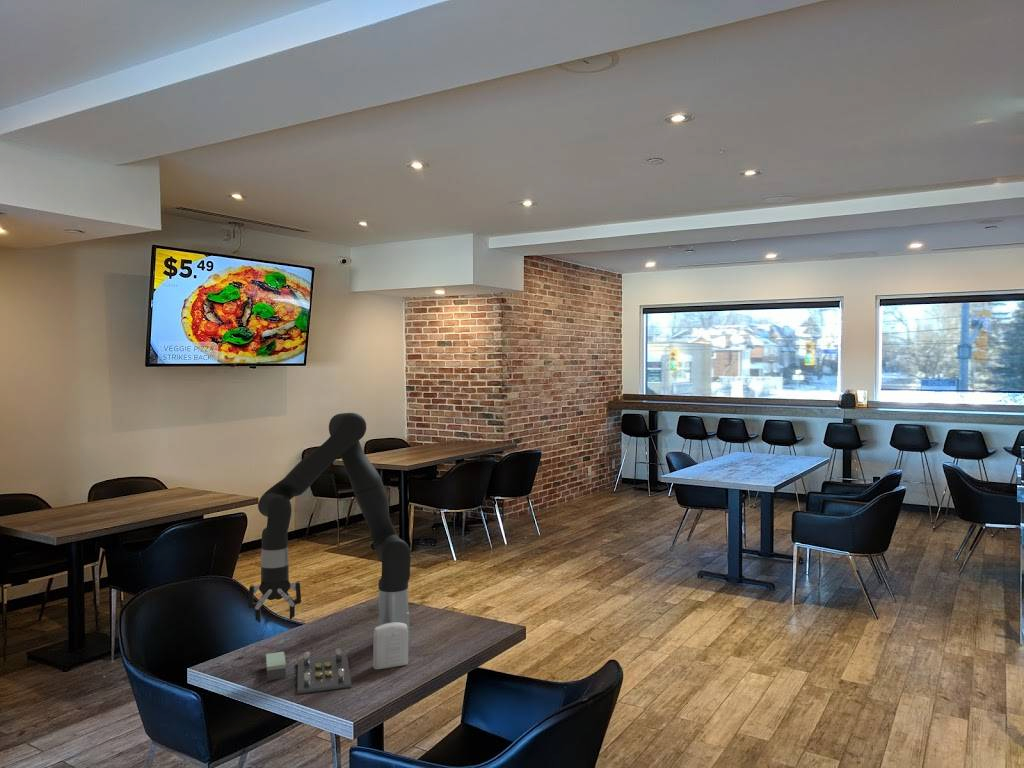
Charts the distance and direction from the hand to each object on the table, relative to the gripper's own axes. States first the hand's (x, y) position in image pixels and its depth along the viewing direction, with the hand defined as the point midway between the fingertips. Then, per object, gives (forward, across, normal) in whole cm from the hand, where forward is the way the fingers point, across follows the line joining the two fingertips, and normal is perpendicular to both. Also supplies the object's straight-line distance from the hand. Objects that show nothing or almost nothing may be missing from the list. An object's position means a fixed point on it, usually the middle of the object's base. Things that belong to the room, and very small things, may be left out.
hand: (275, 620), depth 205 cm
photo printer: (+15, -32, +5) cm, 36 cm away
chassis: (+15, -13, +6) cm, 21 cm away
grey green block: (+15, 0, 0) cm, 15 cm away
